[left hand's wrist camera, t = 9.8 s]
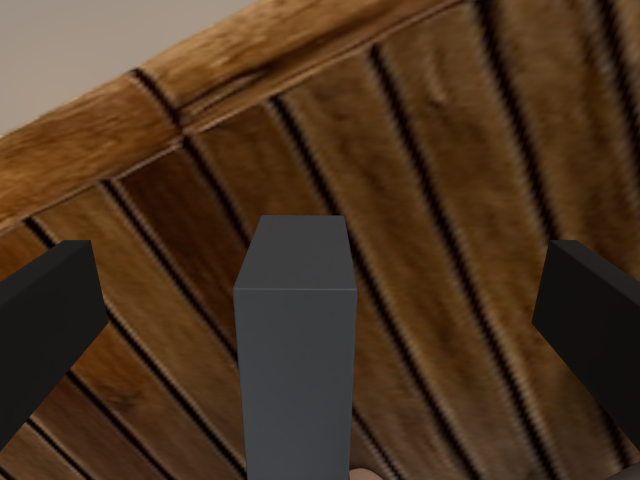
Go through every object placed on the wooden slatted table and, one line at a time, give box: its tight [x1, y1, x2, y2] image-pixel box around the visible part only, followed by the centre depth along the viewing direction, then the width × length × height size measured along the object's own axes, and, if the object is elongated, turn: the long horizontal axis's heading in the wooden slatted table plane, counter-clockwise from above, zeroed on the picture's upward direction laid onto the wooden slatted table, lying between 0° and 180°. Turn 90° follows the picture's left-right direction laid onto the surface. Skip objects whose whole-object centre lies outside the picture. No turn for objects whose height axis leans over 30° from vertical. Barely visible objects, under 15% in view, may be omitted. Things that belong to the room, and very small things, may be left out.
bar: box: [233, 215, 357, 480], centre depth 24 cm, size 23×5×9 cm, turn 179°
